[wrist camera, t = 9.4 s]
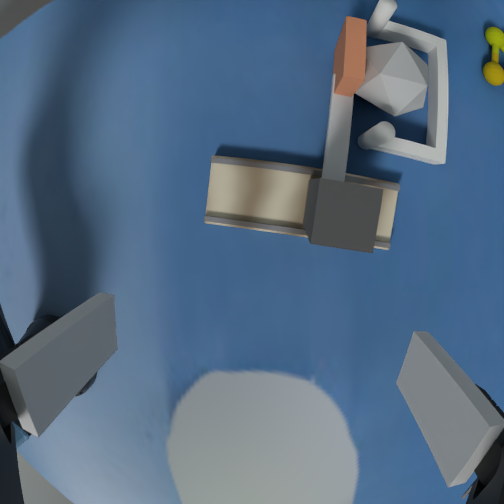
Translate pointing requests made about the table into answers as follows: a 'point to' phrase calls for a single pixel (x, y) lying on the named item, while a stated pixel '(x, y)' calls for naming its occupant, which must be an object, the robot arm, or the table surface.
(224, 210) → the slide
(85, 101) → the table surface
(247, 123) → the table surface
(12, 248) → the table surface
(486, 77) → the molecular model
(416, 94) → the die
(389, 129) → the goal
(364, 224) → the rod
